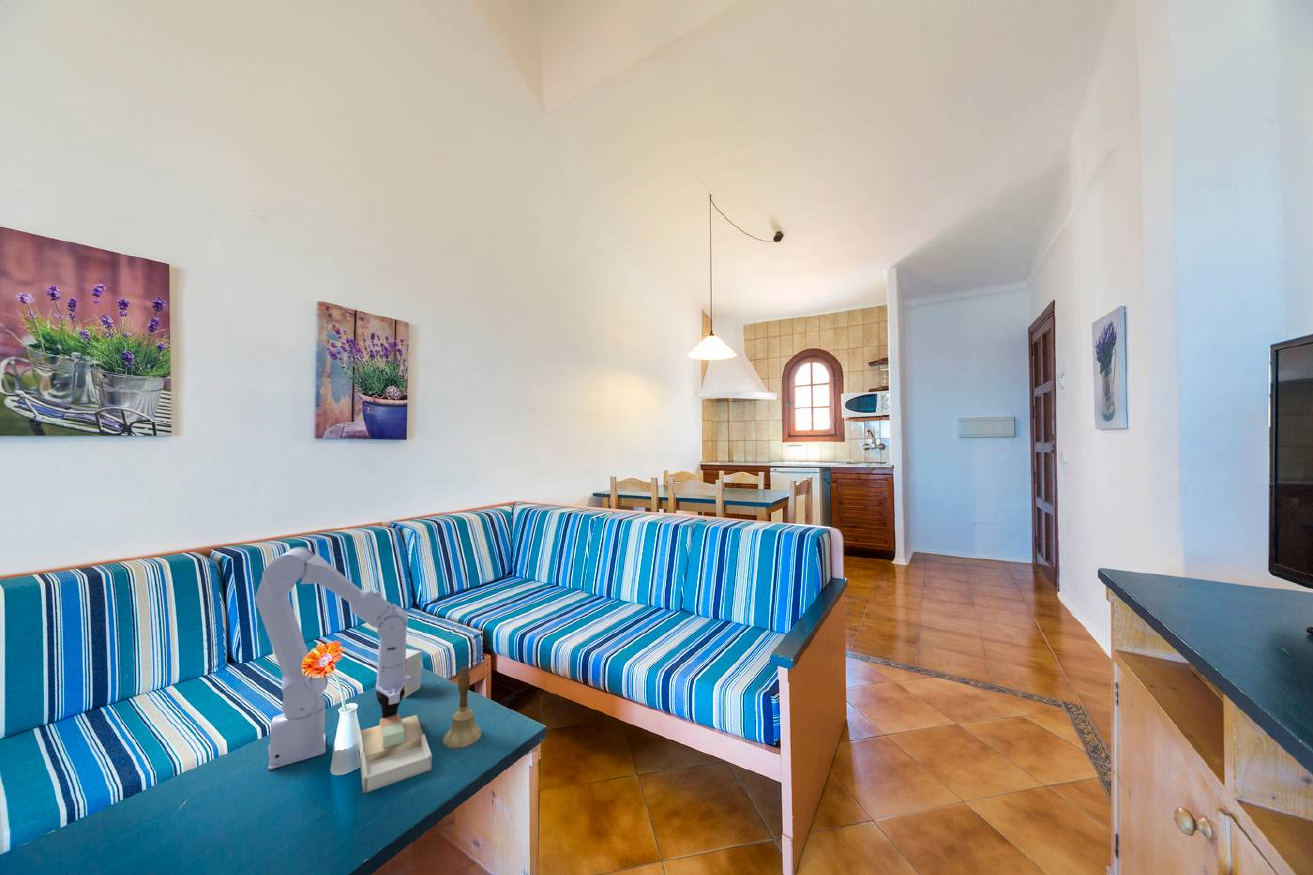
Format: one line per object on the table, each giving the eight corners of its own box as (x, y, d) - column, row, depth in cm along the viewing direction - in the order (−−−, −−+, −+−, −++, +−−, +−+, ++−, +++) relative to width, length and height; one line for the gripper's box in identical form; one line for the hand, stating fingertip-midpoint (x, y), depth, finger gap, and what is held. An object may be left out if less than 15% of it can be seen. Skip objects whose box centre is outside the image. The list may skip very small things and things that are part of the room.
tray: (363, 793, 88) (363, 778, 88) (360, 767, 95) (361, 753, 95) (431, 769, 95) (432, 755, 95) (424, 746, 102) (424, 734, 102)
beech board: (360, 767, 95) (361, 757, 95) (357, 740, 104) (358, 731, 104) (424, 746, 102) (424, 737, 102) (416, 723, 111) (416, 714, 111)
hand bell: (449, 753, 100) (452, 679, 101) (438, 735, 107) (441, 666, 107) (486, 739, 106) (489, 669, 106) (474, 722, 112) (477, 656, 113)
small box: (381, 693, 124) (383, 654, 125) (398, 683, 130) (400, 646, 130) (404, 698, 122) (406, 658, 123) (420, 688, 127) (422, 650, 128)
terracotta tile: (381, 739, 101) (381, 727, 102) (379, 730, 105) (379, 719, 105) (401, 733, 104) (402, 721, 104) (399, 724, 107) (399, 713, 107)
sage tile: (382, 748, 98) (383, 737, 98) (380, 739, 101) (381, 727, 102) (403, 742, 101) (404, 730, 101) (401, 733, 104) (401, 722, 104)
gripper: (415, 670, 104) (413, 731, 103) (406, 647, 116) (404, 702, 115) (379, 678, 100) (376, 742, 99) (373, 654, 111) (371, 711, 111)
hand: (389, 721), depth 107 cm, fingers closed
